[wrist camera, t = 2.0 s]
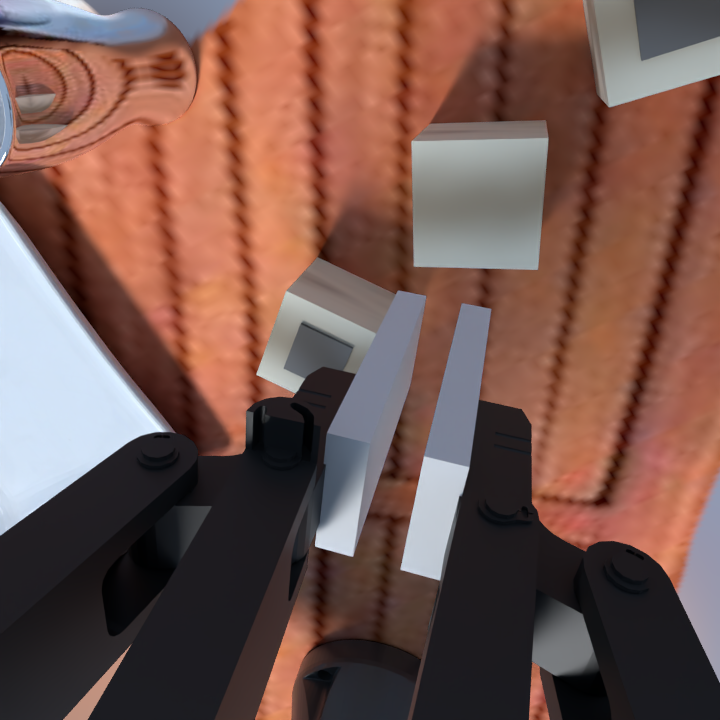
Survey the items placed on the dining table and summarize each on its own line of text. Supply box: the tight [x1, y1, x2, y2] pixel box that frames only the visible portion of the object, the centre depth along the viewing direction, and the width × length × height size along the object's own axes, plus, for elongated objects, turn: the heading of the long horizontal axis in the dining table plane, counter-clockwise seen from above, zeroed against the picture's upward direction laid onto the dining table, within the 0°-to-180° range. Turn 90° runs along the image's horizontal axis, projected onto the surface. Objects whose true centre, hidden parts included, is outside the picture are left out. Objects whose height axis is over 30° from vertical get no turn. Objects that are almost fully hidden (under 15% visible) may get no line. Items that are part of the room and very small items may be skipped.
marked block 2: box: [583, 0, 720, 107], centre depth 26 cm, size 6×6×6 cm
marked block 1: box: [257, 257, 396, 393], centre depth 37 cm, size 6×6×6 cm
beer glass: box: [0, 0, 197, 178], centre depth 29 cm, size 7×7×15 cm
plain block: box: [412, 120, 549, 270], centre depth 31 cm, size 6×6×6 cm
